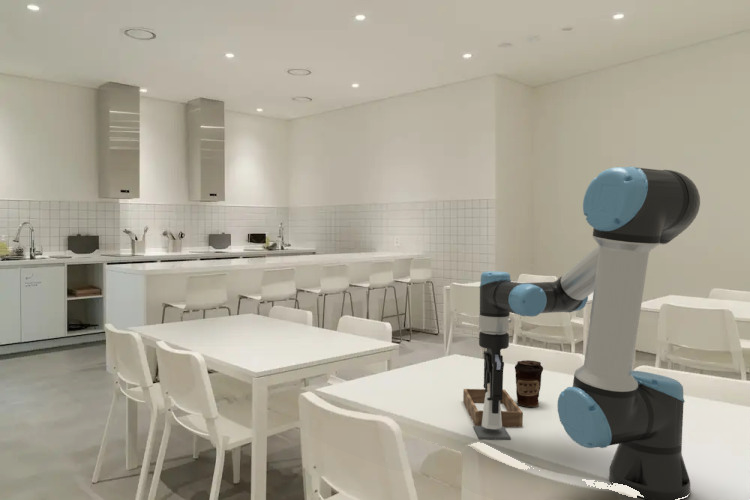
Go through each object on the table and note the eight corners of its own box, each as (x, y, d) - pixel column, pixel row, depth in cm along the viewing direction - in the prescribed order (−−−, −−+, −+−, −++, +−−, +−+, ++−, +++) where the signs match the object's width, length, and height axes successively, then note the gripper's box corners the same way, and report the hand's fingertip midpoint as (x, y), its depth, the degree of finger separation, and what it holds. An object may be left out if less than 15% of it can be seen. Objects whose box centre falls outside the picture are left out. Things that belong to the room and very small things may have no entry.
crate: (522, 427, 150) (522, 412, 150) (475, 426, 150) (475, 411, 150) (504, 402, 171) (504, 389, 171) (463, 401, 171) (463, 388, 171)
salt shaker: (487, 421, 148) (488, 379, 148) (506, 425, 145) (507, 383, 144) (477, 426, 144) (478, 383, 144) (496, 431, 141) (497, 387, 140)
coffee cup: (543, 410, 164) (544, 366, 164) (514, 408, 166) (515, 364, 166) (540, 401, 173) (542, 359, 172) (513, 399, 175) (514, 358, 174)
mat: (510, 439, 141) (510, 437, 141) (478, 439, 141) (478, 436, 141) (503, 428, 149) (503, 426, 149) (473, 427, 149) (473, 425, 149)
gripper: (516, 338, 135) (514, 434, 136) (501, 326, 152) (499, 411, 153) (485, 337, 135) (483, 433, 136) (473, 325, 152) (471, 410, 153)
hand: (492, 421), depth 144 cm, fingers closed on salt shaker, 4 cm apart
